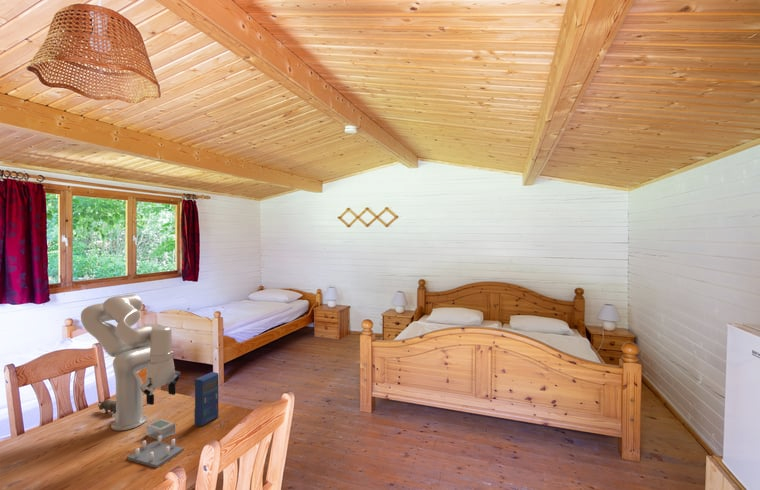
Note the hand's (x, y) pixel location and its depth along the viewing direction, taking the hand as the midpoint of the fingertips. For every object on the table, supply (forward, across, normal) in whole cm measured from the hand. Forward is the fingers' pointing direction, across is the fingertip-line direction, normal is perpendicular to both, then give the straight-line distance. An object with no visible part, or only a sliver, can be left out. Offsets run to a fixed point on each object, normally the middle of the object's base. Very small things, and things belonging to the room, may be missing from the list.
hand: (161, 399), depth 145 cm
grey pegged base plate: (+15, +11, +10) cm, 21 cm away
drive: (+15, 0, -1) cm, 15 cm away
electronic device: (+15, -15, +8) cm, 23 cm away
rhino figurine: (+14, -6, -41) cm, 44 cm away
